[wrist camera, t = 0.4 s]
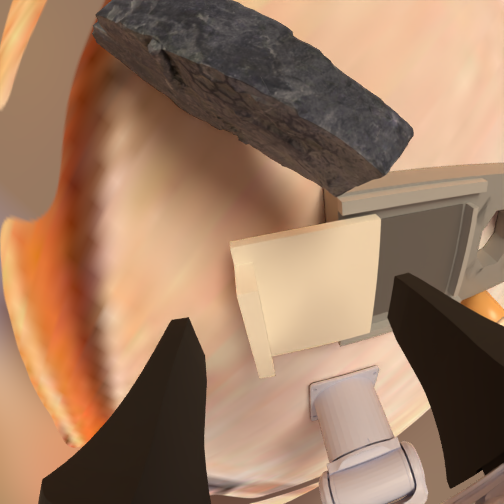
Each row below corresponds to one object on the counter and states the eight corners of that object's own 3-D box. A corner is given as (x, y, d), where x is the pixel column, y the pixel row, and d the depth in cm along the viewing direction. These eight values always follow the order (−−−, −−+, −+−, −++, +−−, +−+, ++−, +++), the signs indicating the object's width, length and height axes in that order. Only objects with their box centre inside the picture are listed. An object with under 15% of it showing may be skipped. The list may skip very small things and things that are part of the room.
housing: (491, 268, 23) (509, 286, 20) (328, 320, 23) (340, 350, 20) (512, 162, 17) (537, 175, 14) (322, 181, 17) (343, 199, 14)
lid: (366, 326, 20) (382, 357, 17) (257, 351, 20) (262, 387, 17) (375, 213, 15) (403, 240, 13) (229, 241, 15) (231, 276, 13)
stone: (93, 101, 13) (-28, 125, 5) (127, 9, 11) (37, -54, 2) (311, 170, 17) (397, 254, 8) (350, 84, 14) (474, 90, 6)
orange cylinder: (470, 301, 25) (503, 342, 19) (446, 311, 25) (479, 356, 19) (479, 273, 23) (518, 313, 17) (455, 282, 23) (494, 327, 17)
